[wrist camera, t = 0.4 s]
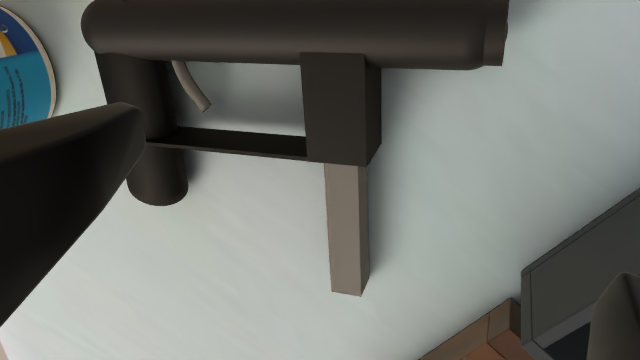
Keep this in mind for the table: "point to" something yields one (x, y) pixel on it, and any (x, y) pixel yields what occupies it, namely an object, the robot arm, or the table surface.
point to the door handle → (317, 85)
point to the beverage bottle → (23, 74)
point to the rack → (487, 338)
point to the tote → (577, 282)
